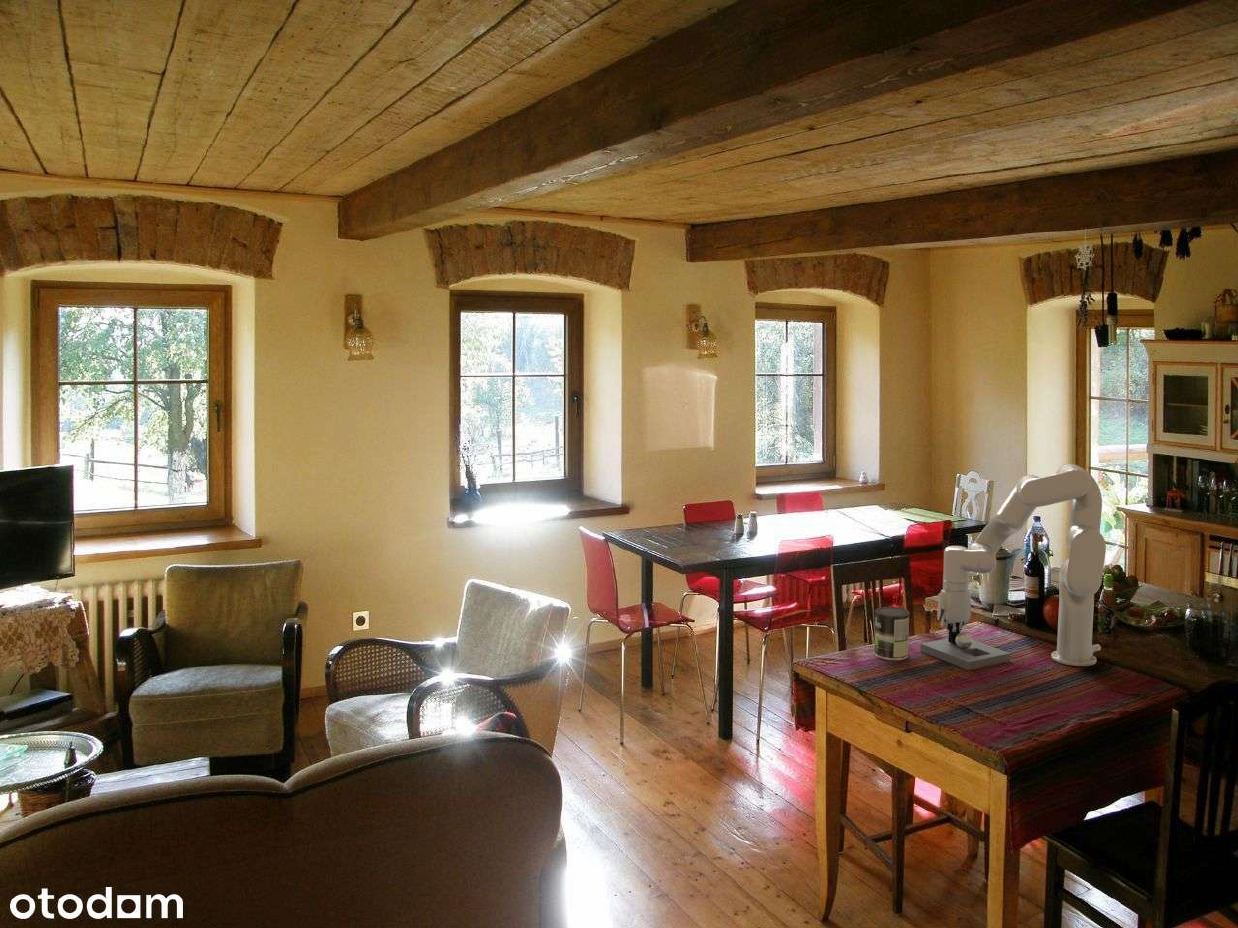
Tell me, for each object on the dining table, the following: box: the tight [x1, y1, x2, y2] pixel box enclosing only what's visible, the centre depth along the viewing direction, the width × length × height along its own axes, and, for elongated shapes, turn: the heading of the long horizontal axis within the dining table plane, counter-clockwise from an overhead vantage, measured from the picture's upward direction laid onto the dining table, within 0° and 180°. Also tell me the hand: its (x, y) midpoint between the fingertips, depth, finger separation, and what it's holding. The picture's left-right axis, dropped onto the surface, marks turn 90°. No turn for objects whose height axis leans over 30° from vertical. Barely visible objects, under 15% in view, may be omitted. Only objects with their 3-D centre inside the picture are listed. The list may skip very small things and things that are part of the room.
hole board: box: [920, 637, 1011, 671], centre depth 311 cm, size 17×20×2 cm
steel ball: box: [956, 631, 974, 649], centre depth 311 cm, size 5×5×5 cm
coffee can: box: [873, 606, 911, 661], centre depth 312 cm, size 10×10×14 cm
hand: (954, 642), depth 315 cm, fingers closed
